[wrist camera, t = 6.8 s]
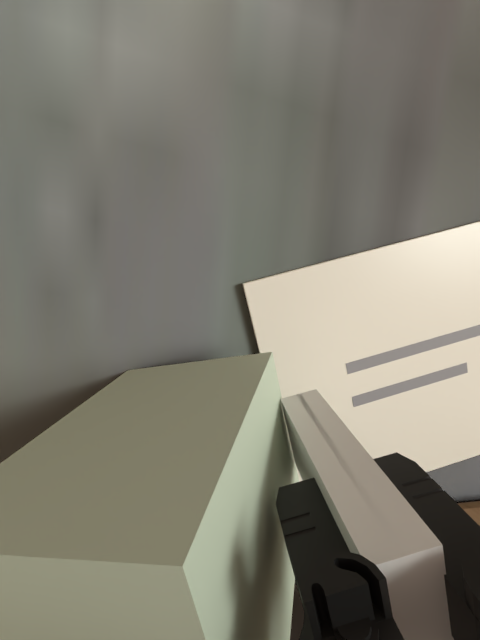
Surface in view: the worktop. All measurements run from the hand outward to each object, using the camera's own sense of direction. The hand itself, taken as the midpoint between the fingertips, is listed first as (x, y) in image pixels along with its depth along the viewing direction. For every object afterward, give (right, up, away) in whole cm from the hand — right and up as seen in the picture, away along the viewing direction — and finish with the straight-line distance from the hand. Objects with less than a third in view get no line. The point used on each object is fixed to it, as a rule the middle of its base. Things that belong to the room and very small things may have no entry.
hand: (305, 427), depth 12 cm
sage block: (-3, -1, +1) cm, 4 cm away
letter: (+7, +2, +3) cm, 8 cm away
